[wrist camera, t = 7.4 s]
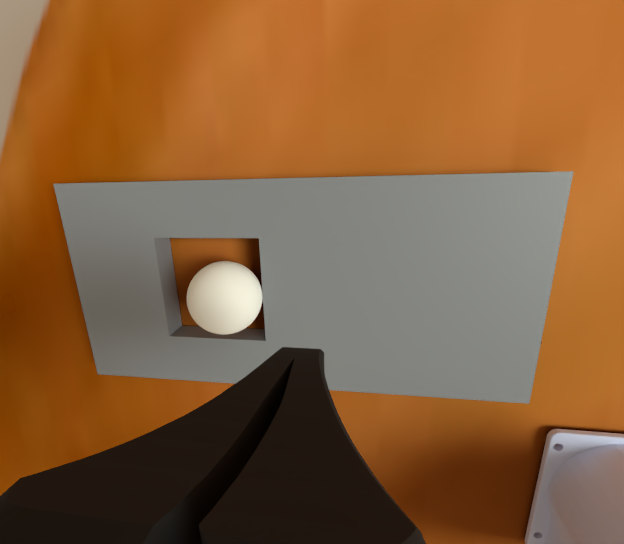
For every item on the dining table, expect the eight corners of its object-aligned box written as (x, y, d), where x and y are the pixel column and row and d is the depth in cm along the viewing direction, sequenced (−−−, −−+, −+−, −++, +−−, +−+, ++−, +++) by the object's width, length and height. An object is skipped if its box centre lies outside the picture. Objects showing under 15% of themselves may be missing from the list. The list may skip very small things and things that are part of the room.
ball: (187, 318, 19) (252, 304, 21) (198, 358, 16) (273, 338, 18) (177, 256, 18) (248, 246, 19) (186, 287, 15) (271, 272, 16)
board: (516, 386, 19) (529, 403, 18) (114, 361, 23) (97, 374, 21) (553, 172, 16) (573, 171, 14) (75, 183, 19) (53, 183, 18)
